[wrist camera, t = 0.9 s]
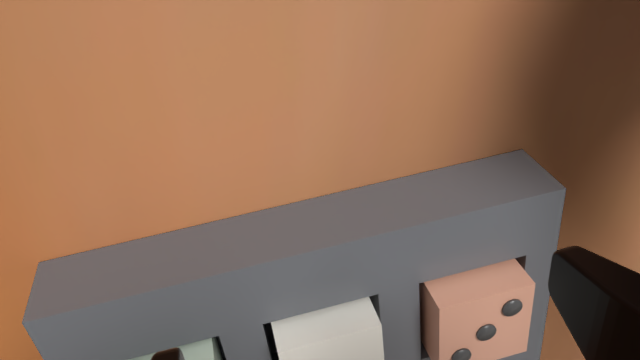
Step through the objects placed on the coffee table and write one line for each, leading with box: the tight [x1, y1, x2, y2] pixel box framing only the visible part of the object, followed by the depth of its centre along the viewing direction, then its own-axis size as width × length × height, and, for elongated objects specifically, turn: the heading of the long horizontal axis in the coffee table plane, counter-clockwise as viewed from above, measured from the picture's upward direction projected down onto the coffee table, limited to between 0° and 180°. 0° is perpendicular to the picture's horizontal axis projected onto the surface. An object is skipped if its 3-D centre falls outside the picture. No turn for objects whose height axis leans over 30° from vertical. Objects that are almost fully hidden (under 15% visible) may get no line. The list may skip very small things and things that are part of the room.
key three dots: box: [419, 258, 535, 360], centre depth 23 cm, size 4×4×2 cm
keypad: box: [22, 149, 566, 360], centre depth 23 cm, size 19×10×3 cm, turn 97°
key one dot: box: [271, 297, 384, 360], centre depth 22 cm, size 4×4×2 cm
